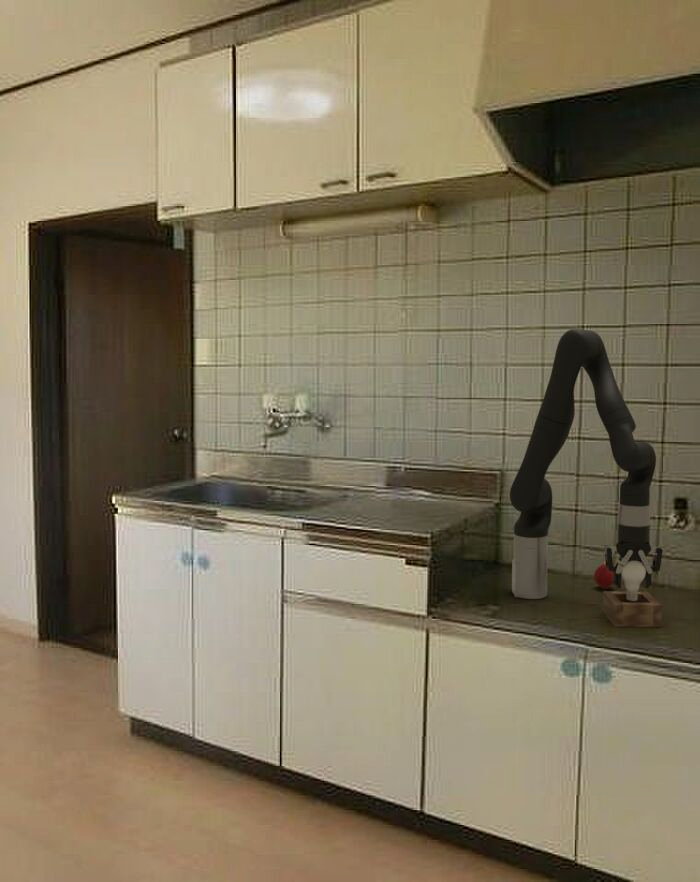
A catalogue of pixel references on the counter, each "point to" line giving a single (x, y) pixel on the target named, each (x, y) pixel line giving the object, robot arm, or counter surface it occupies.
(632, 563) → the lightbulb
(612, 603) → the socket block
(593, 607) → the counter surface
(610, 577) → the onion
